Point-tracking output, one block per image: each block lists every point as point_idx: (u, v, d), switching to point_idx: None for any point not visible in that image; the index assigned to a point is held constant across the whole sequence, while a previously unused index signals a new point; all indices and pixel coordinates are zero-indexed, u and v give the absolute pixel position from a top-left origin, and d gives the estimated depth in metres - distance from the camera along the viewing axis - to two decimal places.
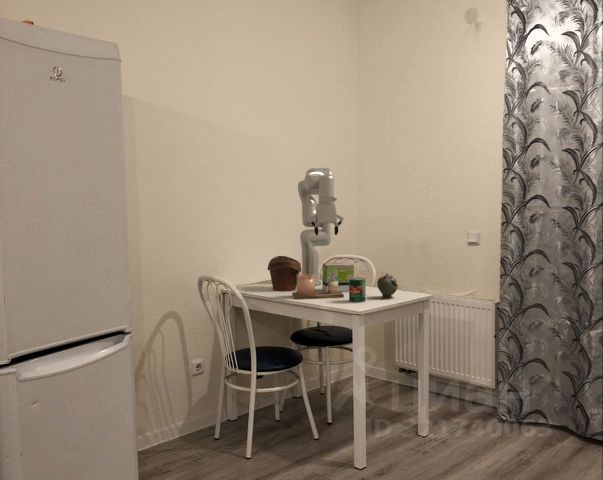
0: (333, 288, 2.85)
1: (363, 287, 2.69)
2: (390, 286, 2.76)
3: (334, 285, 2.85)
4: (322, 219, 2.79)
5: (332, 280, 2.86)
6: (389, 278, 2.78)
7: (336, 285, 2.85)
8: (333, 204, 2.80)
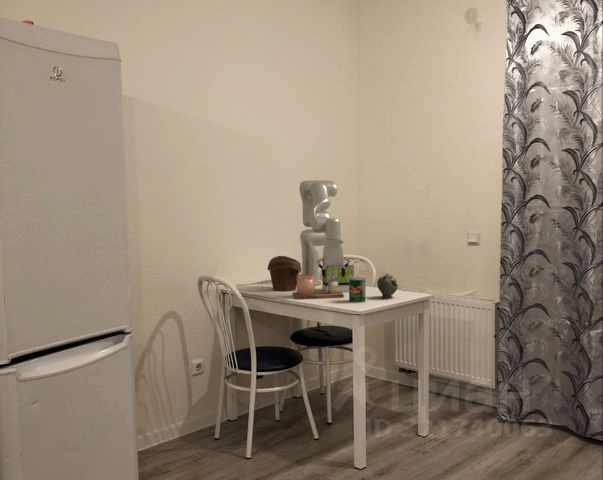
0: (333, 288, 2.85)
1: (363, 287, 2.69)
2: (390, 285, 2.76)
3: (334, 285, 2.85)
4: (329, 262, 2.84)
5: (332, 280, 2.86)
6: (389, 278, 2.78)
7: (336, 285, 2.85)
8: (340, 247, 2.84)
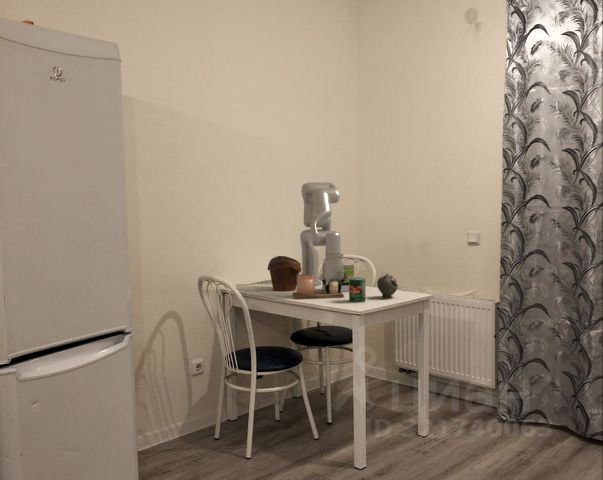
0: (333, 288, 2.85)
1: (363, 287, 2.69)
2: (390, 285, 2.76)
3: (334, 285, 2.85)
4: (329, 276, 2.85)
5: (332, 280, 2.86)
6: (389, 278, 2.78)
7: (336, 285, 2.85)
8: (340, 261, 2.85)
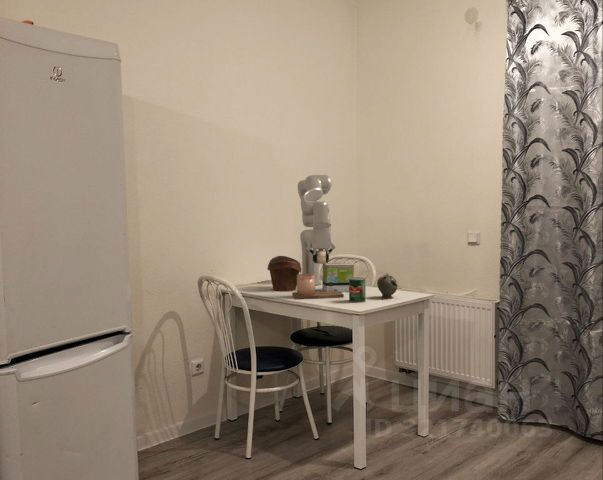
0: (321, 258, 2.83)
1: (363, 287, 2.69)
2: (390, 285, 2.76)
3: (322, 255, 2.83)
4: (317, 245, 2.82)
5: (320, 250, 2.84)
6: (389, 278, 2.78)
7: (324, 255, 2.83)
8: (327, 230, 2.83)
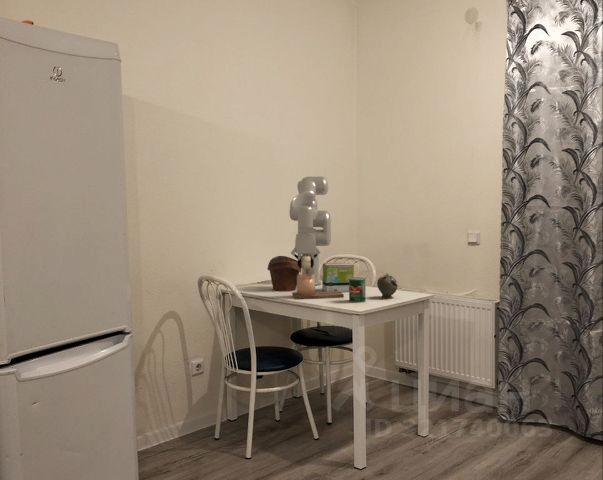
0: (306, 263, 2.82)
1: (363, 287, 2.69)
2: (390, 285, 2.76)
3: (306, 260, 2.82)
4: (301, 250, 2.81)
5: (304, 255, 2.83)
6: (389, 278, 2.78)
7: (308, 260, 2.82)
8: (312, 235, 2.82)
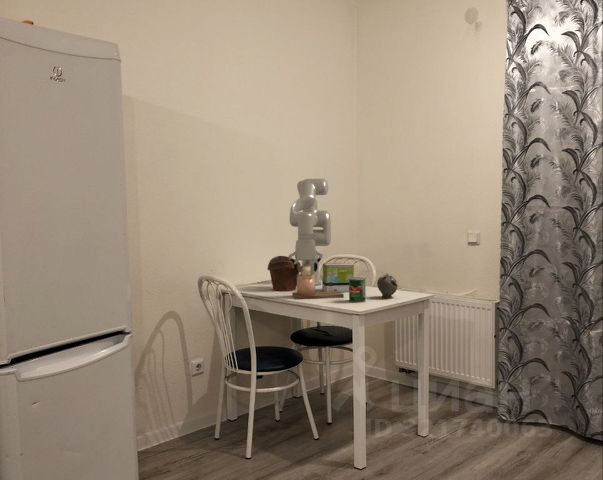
0: (306, 273, 2.82)
1: (363, 287, 2.69)
2: (390, 285, 2.76)
3: (307, 270, 2.82)
4: (301, 257, 2.82)
5: (305, 265, 2.83)
6: (389, 278, 2.78)
7: (309, 270, 2.83)
8: (312, 241, 2.82)
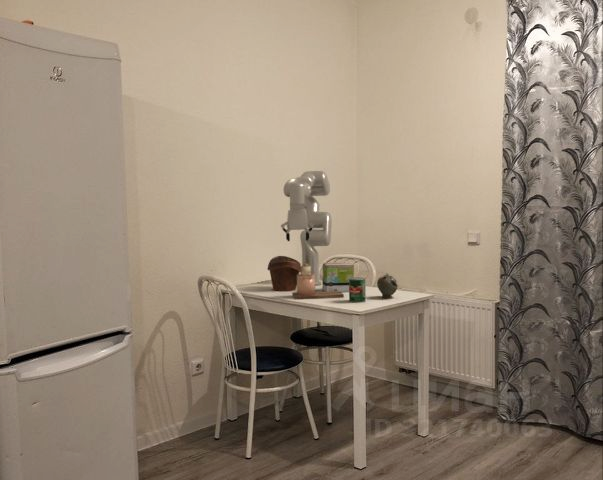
0: (306, 273, 2.82)
1: (363, 287, 2.69)
2: (390, 286, 2.76)
3: (307, 270, 2.82)
4: (293, 226, 2.88)
5: (305, 265, 2.83)
6: (389, 278, 2.78)
7: (309, 270, 2.83)
8: (304, 211, 2.89)
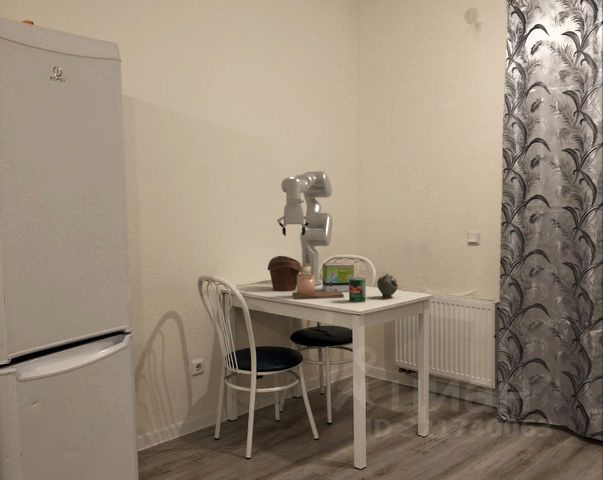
0: (306, 273, 2.82)
1: (363, 287, 2.69)
2: (390, 285, 2.76)
3: (307, 270, 2.82)
4: (290, 221, 2.92)
5: (305, 265, 2.83)
6: (389, 278, 2.78)
7: (309, 270, 2.83)
8: (300, 206, 2.92)
